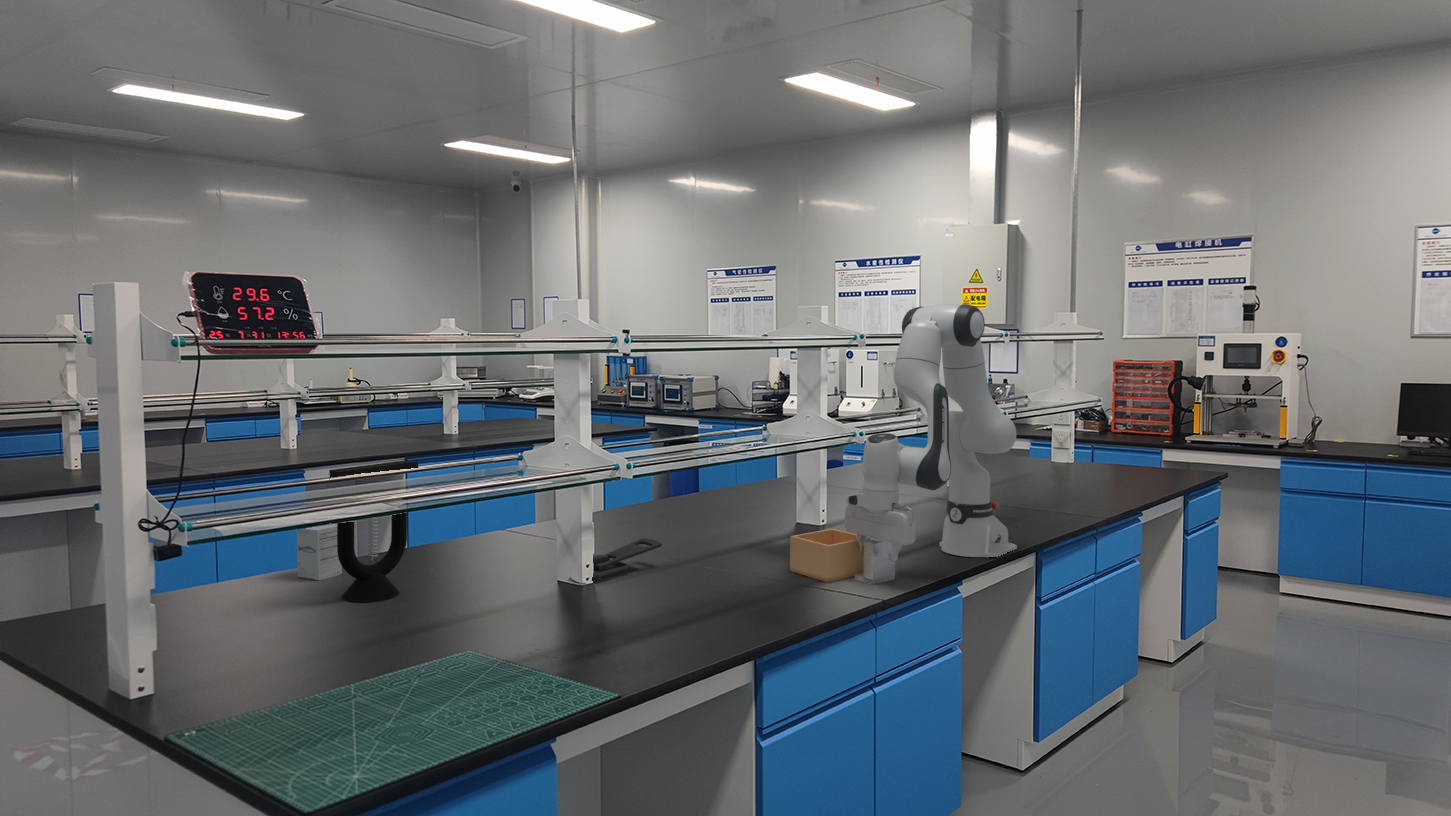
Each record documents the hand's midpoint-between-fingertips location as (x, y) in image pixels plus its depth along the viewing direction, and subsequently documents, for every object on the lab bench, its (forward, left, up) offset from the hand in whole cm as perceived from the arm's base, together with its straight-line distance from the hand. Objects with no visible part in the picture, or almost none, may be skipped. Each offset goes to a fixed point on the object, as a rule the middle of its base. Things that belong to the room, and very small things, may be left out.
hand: (878, 556), depth 219 cm
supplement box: (+107, -87, -6) cm, 138 cm away
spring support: (+101, -63, -6) cm, 119 cm away
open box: (+4, -13, -6) cm, 15 cm away
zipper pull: (+47, -45, -6) cm, 65 cm away
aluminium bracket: (0, -1, -6) cm, 6 cm away
